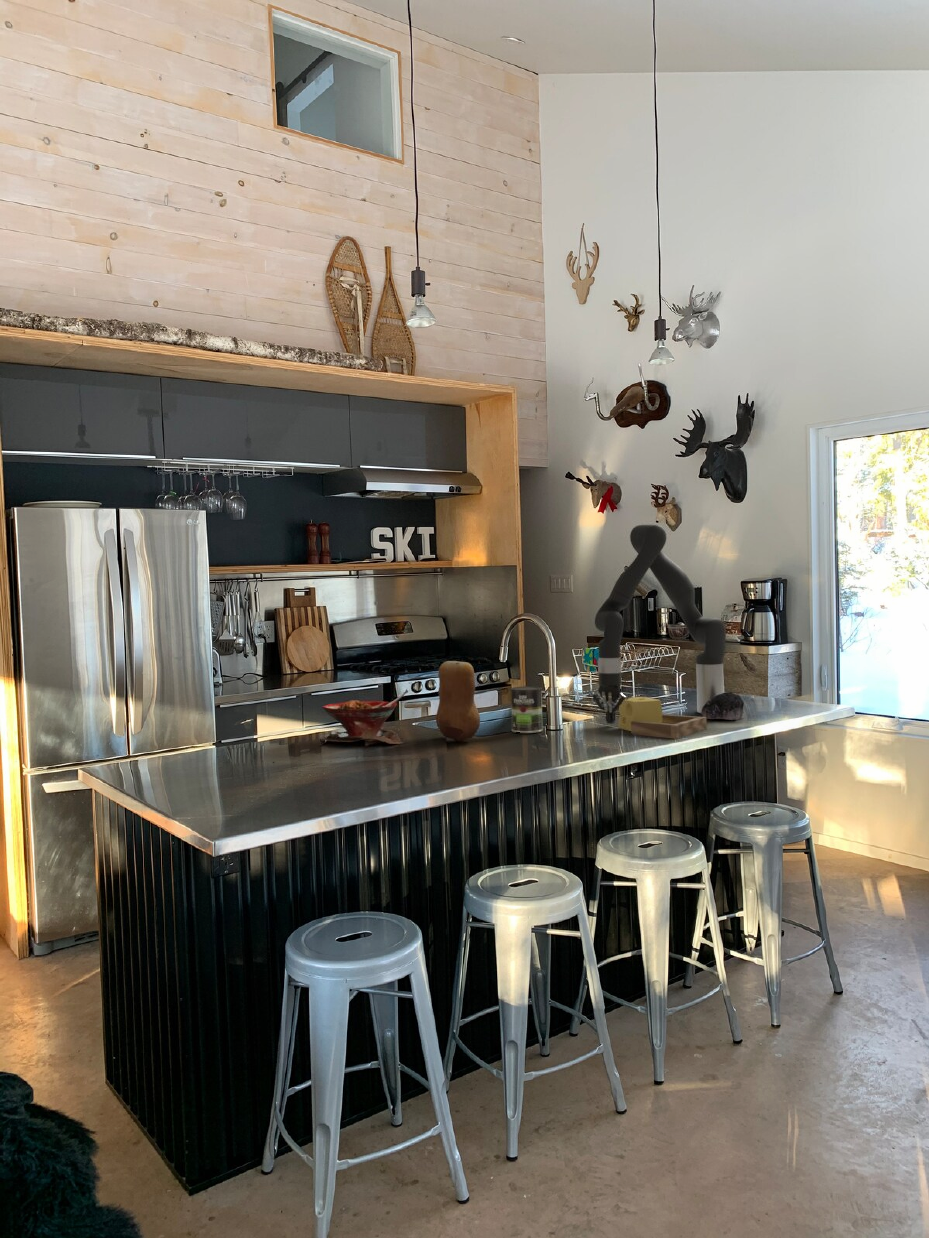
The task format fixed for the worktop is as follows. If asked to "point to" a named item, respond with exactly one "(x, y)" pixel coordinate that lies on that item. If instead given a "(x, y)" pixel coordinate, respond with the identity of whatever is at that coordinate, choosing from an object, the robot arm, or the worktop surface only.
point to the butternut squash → (457, 701)
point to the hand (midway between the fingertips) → (610, 723)
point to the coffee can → (526, 709)
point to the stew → (362, 721)
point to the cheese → (639, 711)
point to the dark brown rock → (724, 707)
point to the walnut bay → (670, 726)
